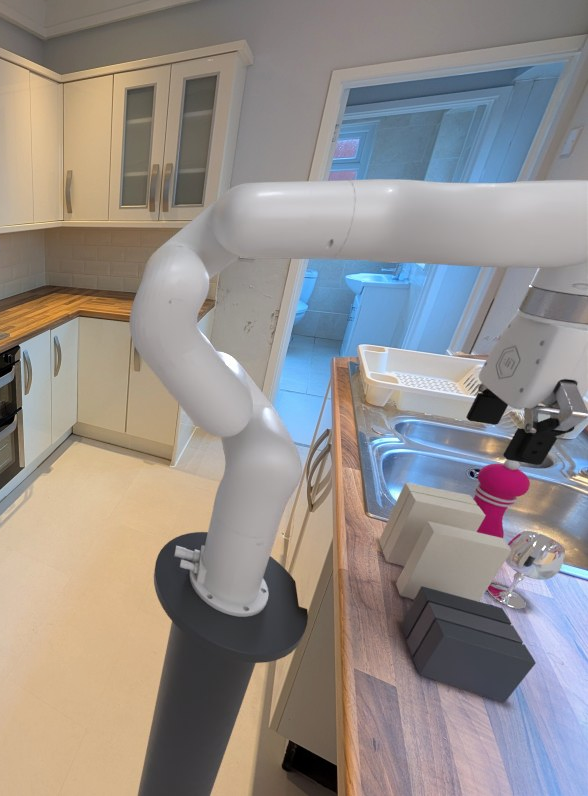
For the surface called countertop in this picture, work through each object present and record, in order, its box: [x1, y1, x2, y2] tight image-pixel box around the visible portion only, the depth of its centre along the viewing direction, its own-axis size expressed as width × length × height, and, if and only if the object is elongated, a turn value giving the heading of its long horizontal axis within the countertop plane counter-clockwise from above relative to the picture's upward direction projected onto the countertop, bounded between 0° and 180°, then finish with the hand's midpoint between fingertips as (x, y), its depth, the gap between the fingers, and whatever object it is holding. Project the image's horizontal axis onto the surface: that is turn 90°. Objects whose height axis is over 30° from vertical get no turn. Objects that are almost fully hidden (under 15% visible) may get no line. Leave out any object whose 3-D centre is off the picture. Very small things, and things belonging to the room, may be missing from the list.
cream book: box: [395, 521, 512, 602], centre depth 66 cm, size 9×2×14 cm, turn 67°
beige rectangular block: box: [378, 481, 486, 567], centre depth 74 cm, size 9×5×14 cm, turn 67°
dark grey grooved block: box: [400, 586, 537, 704], centre depth 58 cm, size 9×8×8 cm
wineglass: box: [486, 530, 566, 610], centre depth 67 cm, size 6×6×12 cm
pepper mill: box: [472, 459, 531, 539], centre depth 74 cm, size 7×7×20 cm
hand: (499, 439), depth 53 cm, fingers open, 9 cm apart
